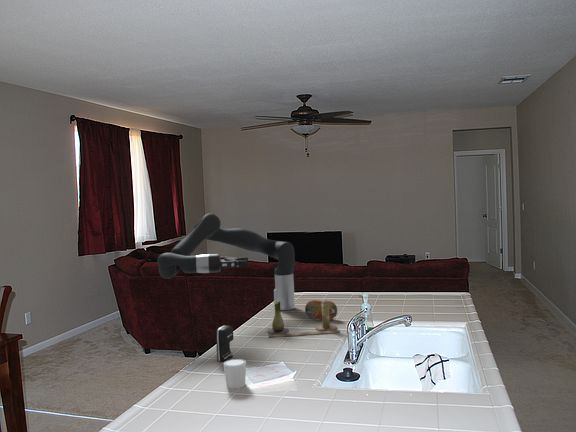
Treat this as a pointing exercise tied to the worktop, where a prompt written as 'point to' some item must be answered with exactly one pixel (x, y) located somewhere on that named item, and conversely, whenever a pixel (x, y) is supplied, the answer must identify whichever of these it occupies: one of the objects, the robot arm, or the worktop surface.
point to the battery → (224, 342)
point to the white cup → (235, 373)
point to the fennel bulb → (277, 319)
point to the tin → (319, 310)
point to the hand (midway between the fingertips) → (248, 261)
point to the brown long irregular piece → (321, 329)
